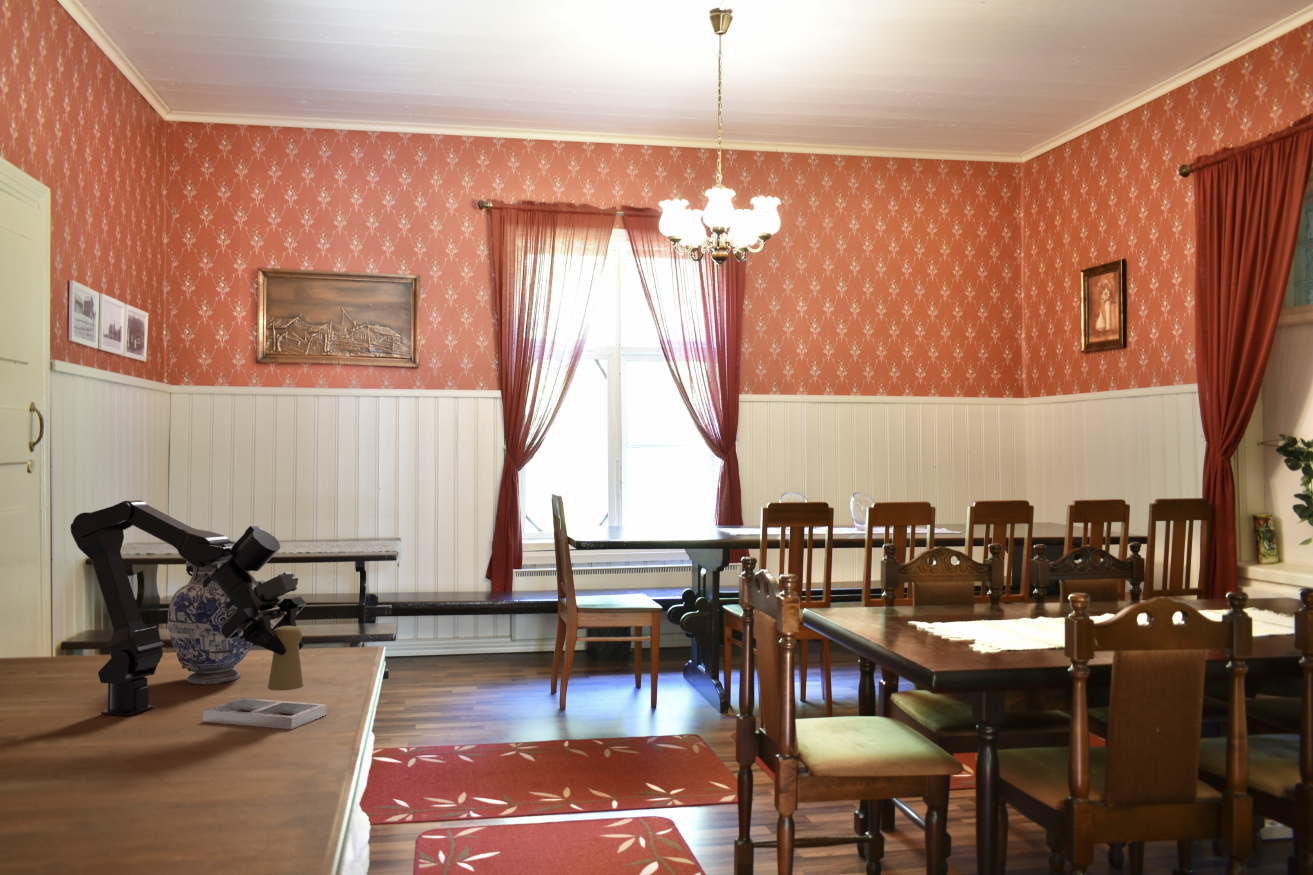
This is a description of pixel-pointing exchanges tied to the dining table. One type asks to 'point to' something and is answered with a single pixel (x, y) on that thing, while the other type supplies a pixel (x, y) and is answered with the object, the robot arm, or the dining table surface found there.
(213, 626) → the decorative vase
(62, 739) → the dining table surface
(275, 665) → the cork
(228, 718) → the grey divided tray
